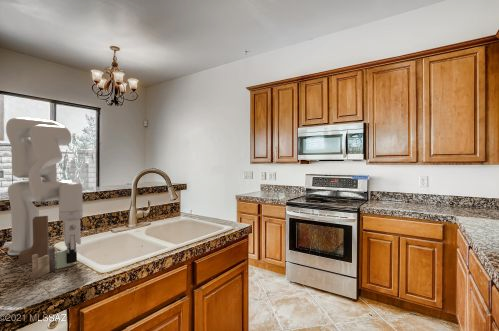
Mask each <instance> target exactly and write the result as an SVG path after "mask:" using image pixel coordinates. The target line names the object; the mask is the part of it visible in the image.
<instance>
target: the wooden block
mask: <svg viewBox="0 0 499 331" xmlns="http://www.w3.org/2000/svg"><path fill="white" fill-rule="evenodd" d="M49 240H50V239H49V216H48V215H41V216H40V215H39V216H38V217H34V218H33V245H32V247H31V248H30V249H27V250H24V251H21V252H20V254H19V255H18V264H19V265H20V264H27V263H32V255H34V254H38V258H40V257H43V256H45V255H48V248H50V246H49V243H50V242H49Z"/></svg>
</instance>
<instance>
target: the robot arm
mask: <svg viewBox="0 0 499 331" xmlns="http://www.w3.org/2000/svg"><path fill="white" fill-rule="evenodd" d="M5 132H6V136H7V139H8V141H9V144H10V147H11V170H12V171H11V172H12V175H13V177H15V178H18V179H28V180H23V181H16V182H13V183H12V184H10V185H8V187H7V197H8V200H9V203H10V204H9V205H10V215H11V216H10V219H11V241H5V242H4V244H3V245H2V247H3V248H5V249H6V248H9V249H8V250H7V255H9V256H19V254H20V252H21V251H24V250H27V249H30V248H31V247H32V245H33V218H34V217H38V216H40V211H39V208H38V207H37V206H36V205H34V203H33V202H42V203H46V202H52V201H58V220H59V221H62V234H63V242H64V245H65V247H66V250H67V264H69V263H74V264H75V263H77V262H78V260H77V259H78V257H77V256H78V254H77V245H81V244H82V240H81V239H82V238H81V237H82V236H81V221H80V219H82V218H83V214H84V211H83V207H84V206H83V204H84V203H83V184H82V183H81V182H76V181H75V182H74V181H73V180H58V178H57V177H58V176H57V175H58V174H57V173H58V172H57V164H58V163H59V162H61V161H62V159H63V153H62V152H61V148H60V146H62V147H63V146H68V145H70V143H71V142H72V134H71V132H70V130H69V128H67V127H66V126H64V125H62V124H61V123H58V122H56V121H54V120H49V119H48V120H47V119H41V118H31V117H12V118H10V119H8V121H7V122H6V125H5ZM69 244H70V245H69ZM69 247H70V248H69Z"/></svg>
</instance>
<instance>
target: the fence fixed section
mask: <svg viewBox="0 0 499 331" xmlns="http://www.w3.org/2000/svg"><path fill="white" fill-rule="evenodd" d="M55 248H56V247H55V246H52V247H50V246H49V248H48V255H45V256H43V257H40V258H38V254H34V255H32V262H31V263H32V264H31V265H32V268H31V270H32V271H31V272H32V273H31V274H32V280H35V279H39V278H40V277H42V276H45V275H46V274H48V273H50V272H53V271H56V250H55Z"/></svg>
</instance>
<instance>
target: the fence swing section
mask: <svg viewBox="0 0 499 331" xmlns="http://www.w3.org/2000/svg"><path fill="white" fill-rule="evenodd" d="M69 245H70V244H69ZM69 248H70V247H69ZM74 265H75V262H74V263H69V264H67V249H63V250H59V251H55V270H58V269H63V268H65V267H67V268H68V267H70V266H74Z"/></svg>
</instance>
